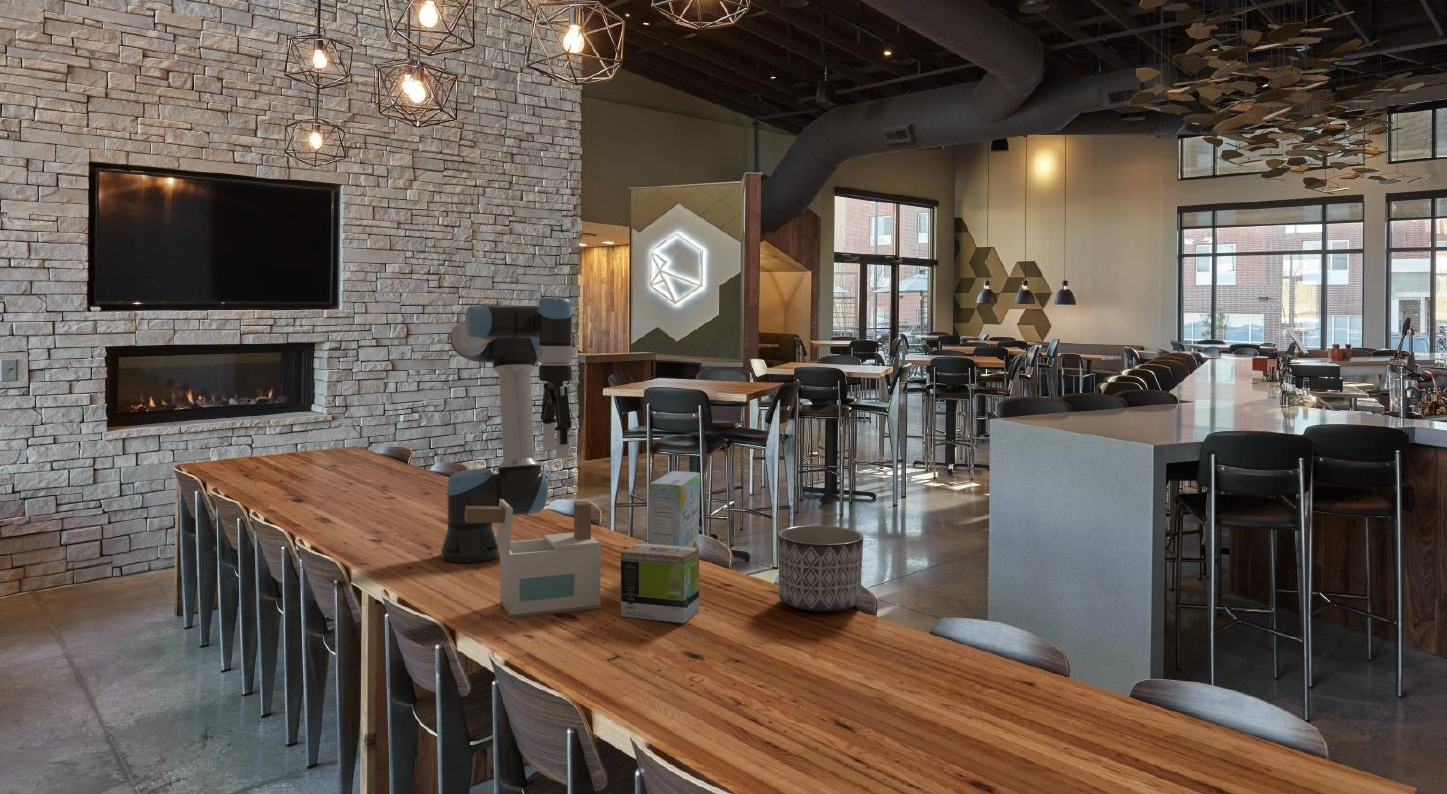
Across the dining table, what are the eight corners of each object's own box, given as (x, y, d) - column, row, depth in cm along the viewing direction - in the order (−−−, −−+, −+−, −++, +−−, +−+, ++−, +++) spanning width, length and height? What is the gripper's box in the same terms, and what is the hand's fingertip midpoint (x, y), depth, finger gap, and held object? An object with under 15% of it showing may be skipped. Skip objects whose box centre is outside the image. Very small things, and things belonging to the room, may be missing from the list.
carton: (500, 602, 213) (499, 503, 211) (586, 593, 221) (586, 497, 219) (510, 618, 202) (509, 513, 200) (600, 608, 210) (600, 507, 208)
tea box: (700, 611, 208) (700, 546, 207) (683, 625, 199) (684, 556, 198) (638, 604, 213) (638, 540, 212) (619, 617, 204) (619, 550, 203)
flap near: (499, 542, 212) (459, 542, 208) (503, 499, 211) (463, 498, 208) (509, 554, 201) (467, 554, 197) (513, 508, 201) (471, 508, 197)
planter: (766, 612, 208) (767, 539, 207) (790, 589, 226) (791, 522, 225) (851, 622, 202) (853, 547, 200) (869, 598, 220) (871, 529, 218)
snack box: (680, 591, 224) (681, 485, 222) (645, 589, 225) (645, 483, 223) (700, 568, 245) (701, 470, 243) (668, 566, 247) (669, 469, 244)
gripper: (528, 361, 229) (528, 448, 230) (551, 367, 206) (552, 462, 208) (558, 361, 232) (558, 446, 233) (585, 366, 209) (585, 461, 211)
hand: (555, 454), depth 220 cm, fingers open, 13 cm apart
